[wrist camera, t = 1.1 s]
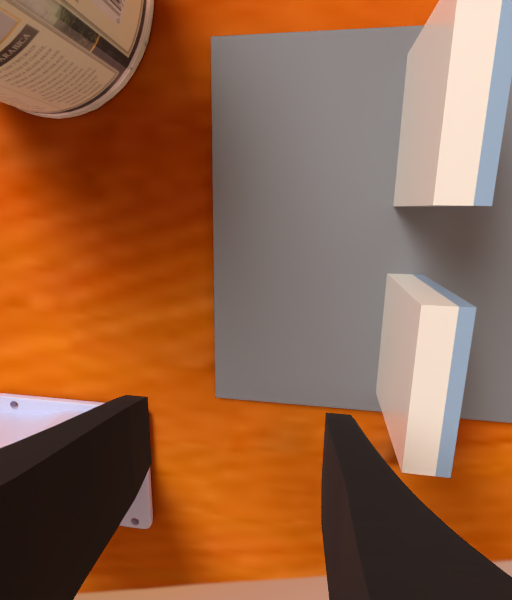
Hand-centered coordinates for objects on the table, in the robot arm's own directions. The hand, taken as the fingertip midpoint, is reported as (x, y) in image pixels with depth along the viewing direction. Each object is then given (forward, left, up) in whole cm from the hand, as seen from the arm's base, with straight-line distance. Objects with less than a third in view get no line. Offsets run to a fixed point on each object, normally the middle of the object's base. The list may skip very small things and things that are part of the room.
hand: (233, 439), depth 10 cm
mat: (+6, +4, -10) cm, 12 cm away
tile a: (+6, 0, -10) cm, 11 cm away
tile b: (+6, +9, -10) cm, 14 cm away
